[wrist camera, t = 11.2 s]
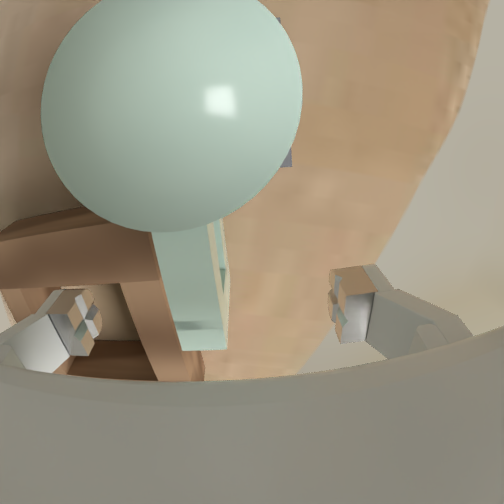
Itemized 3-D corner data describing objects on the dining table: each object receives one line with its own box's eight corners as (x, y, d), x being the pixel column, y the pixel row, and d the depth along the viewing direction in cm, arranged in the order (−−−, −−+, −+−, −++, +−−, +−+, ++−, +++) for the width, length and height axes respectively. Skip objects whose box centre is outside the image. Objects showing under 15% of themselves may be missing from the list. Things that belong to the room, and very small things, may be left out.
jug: (140, 39, 12) (39, -14, 4) (260, 22, 12) (283, -71, 3) (167, 241, 17) (113, 358, 9) (274, 231, 17) (304, 351, 9)
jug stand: (15, 221, 17) (-18, 245, 13) (164, 193, 16) (144, 218, 13) (79, 364, 23) (64, 397, 19) (205, 367, 23) (201, 408, 19)
